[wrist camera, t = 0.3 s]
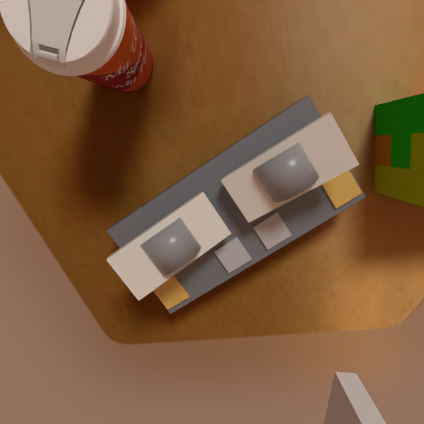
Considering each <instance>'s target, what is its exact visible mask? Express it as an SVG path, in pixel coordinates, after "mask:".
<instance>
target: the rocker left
mask: <svg viewBox="0 0 424 424" xmlns="http://www.w3.org/2000/svg"><path fill="white" fill-rule="evenodd" d="M230 234H231V232H230V231H229V229H228V228H227V226H226V225H225V223H224V222H223V220H222V219H221V217H220V216H219V214H218V213H217V212H216V210H215V209H214V207H213V206H212V204H211V203H210V201H209V200H208V198H207V197H206V195H205V194H204V192H200V193H199V194H197V195H196V196H194V197H193V198H192V199H190V200H189V201H187V202H186V203H184V204H183V205H181V206H180V207H179V208H177V209H176V210H174V211H173V212H171V213H170V214H169V215H167V216H166V217H164V218H163V219H161V220H160V221H158V222H157V223H156V224H154V225H153V226H151V227H150V228H148V229H147V230H146V231H144V232H143V233H141V234H140V235H138V236H137V237H136V238H134V239H133V240H131V241H130V242H128V243H127V244H125V245H124V246H123V247H121V248H120V249H118V250H117V251H115V252H114V253H113V254H111V255H110V256H108V258H107V259H106V260H107V261H108V263H109V264H110V265H111V266H112V268H113V269H114V270H115V271H116V273H117V274H118V275H119V277H120V278H121V279H122V280H123V282H124V283H125V284H126V286H127V287H128V288H129V289H130V291H131V292H132V293H133V294H134V296H135V297H136V298H137V300H138V301H139V300H141V299H142V298H143V297H145V296H146V295H148V294H149V293H150V292H152V291H153V290H154V289H156V288H157V287H159V286H160V285H161V284H163V283H164V282H165V281H167V280H168V279H170V278H171V277H172V276H174V275H175V274H176V273H178V272H179V271H181V270H182V269H183V268H185V267H186V266H187V265H189V264H190V263H192V262H193V261H194V260H196V259H197V258H198V257H200V256H201V255H203V254H204V253H205V252H207V251H208V250H210V249H211V248H212V247H214V246H215V245H216V244H218V243H219V242H221V241H222V240H223V239H225V238H226V237H227V236H229V235H230Z"/></svg>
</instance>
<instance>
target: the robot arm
mask: <svg viewBox="0 0 424 424" xmlns="http://www.w3.org/2000/svg"><path fill="white" fill-rule="evenodd" d="M324 424H386V423H385V421H384V420H383V418H382V416H381V415H380V413H379V411H378V410H377V408H376V406H375V404H374V403H373V401H372V400H371V398H370V396H369V395H368V393H367V391H366V390H365V388H364V386H363V384H362V383H361V381H360V379H359V378H358V376H357V374H354V373H343V372H335V375H334V380H333V384H332V389H331V393H330V398H329V402H328V407H327V412H326V416H325V421H324Z"/></svg>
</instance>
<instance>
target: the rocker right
mask: <svg viewBox="0 0 424 424" xmlns="http://www.w3.org/2000/svg"><path fill="white" fill-rule="evenodd" d="M358 165H359V163H358V161H357V159H356V157H355V156H354V154H353V152H352V150H351V148H350V147H349V145H348V143H347V141H346V139H345V138H344V136H343V134H342V132H341V130H340V129H339V127H338V125H337V123H336V121H335V120H334V118H333V116H332V114H331V113H330V112H327V113H326V114H324V115H323V116H321V117H319V118H318V119H316V120H315V121H313V122H311V123H310V124H308V125H307V126H305V127H303V128H302V129H300V130H299V131H297V132H295V133H294V134H292V135H290V136H289V137H287V138H286V139H284V140H282V141H281V142H279V143H278V144H276V145H274V146H273V147H271V148H270V149H268V150H266V151H265V152H263V153H261V154H260V155H258V156H257V157H255V158H253V159H252V160H250V161H249V162H247V163H245V164H244V165H242V166H241V167H239V168H237V169H236V170H234V171H232V172H231V173H229V174H228V175H226V176H224V177H223V178H222V180H221V182H222V183H223V185H224V186H225V188H226V189H227V191H228V192H229V194H230V195H231V197H232V198H233V200H234V201H235V203H236V204H237V206H238V207H239V209H240V211H241V212H242V214H243V215H244V217H245V218H246V220H247V221H248V223H249V222H251V221H253V220H255V219H257V218H259V217H261V216H263V215H264V214H266V213H268V212H270V211H272V210H274V209H276V208H278V207H280V206H282V205H284V204H285V203H287V202H289V201H291V200H293V199H295V198H297V197H299V196H301V195H303V194H304V193H306V192H308V191H310V190H312V189H314V188H316V187H318V186H320V185H322V184H323V183H325V182H327V181H329V180H331V179H333V178H335V177H337V176H339V175H341V174H342V173H344V172H346V171H348V170H350V169H352V168H354V167H356V166H358Z"/></svg>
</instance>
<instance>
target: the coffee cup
mask: <svg viewBox="0 0 424 424" xmlns="http://www.w3.org/2000/svg"><path fill="white" fill-rule="evenodd" d="M0 12H1V16H2V18H3V21H4V23H5V25H6V27H7V29H8V31H9V32H10V34H11V36H12V37H13V38H14V40H15V42H16V43H17V45H18V46H19V48H20V49H21V50H22V52H23V53H24V54H25V55H26V56H27V57H28V58H29V59H30V60H31V61H33V62H34V63H35V64H37V65H38V66H39V67H41V68H43V69H45V70H47V71H49V72H52V73H55V74H58V75H63V76H78V77H80V78H83V79H86V80H89V81H92V82H95V83H98V84H100V85H103V86H106V87H109V88H112V89H116V90H119V91H124V92H131V91H136V90H138V89H140V88H142V87H143V86H144V85H145V84H146V83H147V82H148V80H149V78H150V76H151V73H152V69H153V61H152V56H151V53H150V50H149V48H148V46H147V44H146V42H145V40H144V38H143V36H142V34H141V32H140V30H139V28H138V26H137V24H136V22H135V20H134V18H133V17H132V15H131V13H130V11H129V9H128V7H127V5H126V3H125V0H0Z"/></svg>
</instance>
